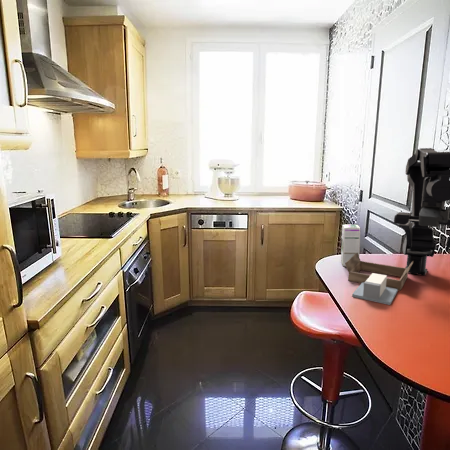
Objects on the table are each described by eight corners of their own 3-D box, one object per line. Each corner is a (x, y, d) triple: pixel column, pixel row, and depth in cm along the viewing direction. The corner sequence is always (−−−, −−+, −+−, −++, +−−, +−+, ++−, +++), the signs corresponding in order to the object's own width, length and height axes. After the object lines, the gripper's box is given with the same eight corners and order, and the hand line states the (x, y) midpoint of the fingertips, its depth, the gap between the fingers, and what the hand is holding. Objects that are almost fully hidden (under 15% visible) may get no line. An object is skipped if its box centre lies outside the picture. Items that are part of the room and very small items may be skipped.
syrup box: (359, 267, 122) (361, 227, 119) (341, 266, 123) (344, 227, 120) (356, 262, 128) (358, 224, 125) (340, 261, 129) (342, 223, 126)
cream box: (371, 285, 104) (372, 272, 103) (385, 288, 101) (386, 275, 100) (363, 296, 96) (363, 283, 95) (378, 299, 94) (379, 286, 93)
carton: (355, 268, 121) (356, 252, 120) (412, 278, 111) (413, 261, 110) (343, 279, 111) (344, 262, 109) (405, 291, 100) (407, 273, 99)
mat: (362, 284, 107) (362, 282, 106) (397, 291, 101) (397, 288, 101) (352, 296, 98) (352, 294, 98) (390, 305, 92) (390, 302, 92)
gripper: (392, 198, 96) (388, 251, 100) (473, 202, 86) (465, 261, 89) (399, 193, 105) (395, 242, 109) (473, 197, 95) (466, 251, 98)
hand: (428, 249), depth 101 cm, fingers open, 9 cm apart
